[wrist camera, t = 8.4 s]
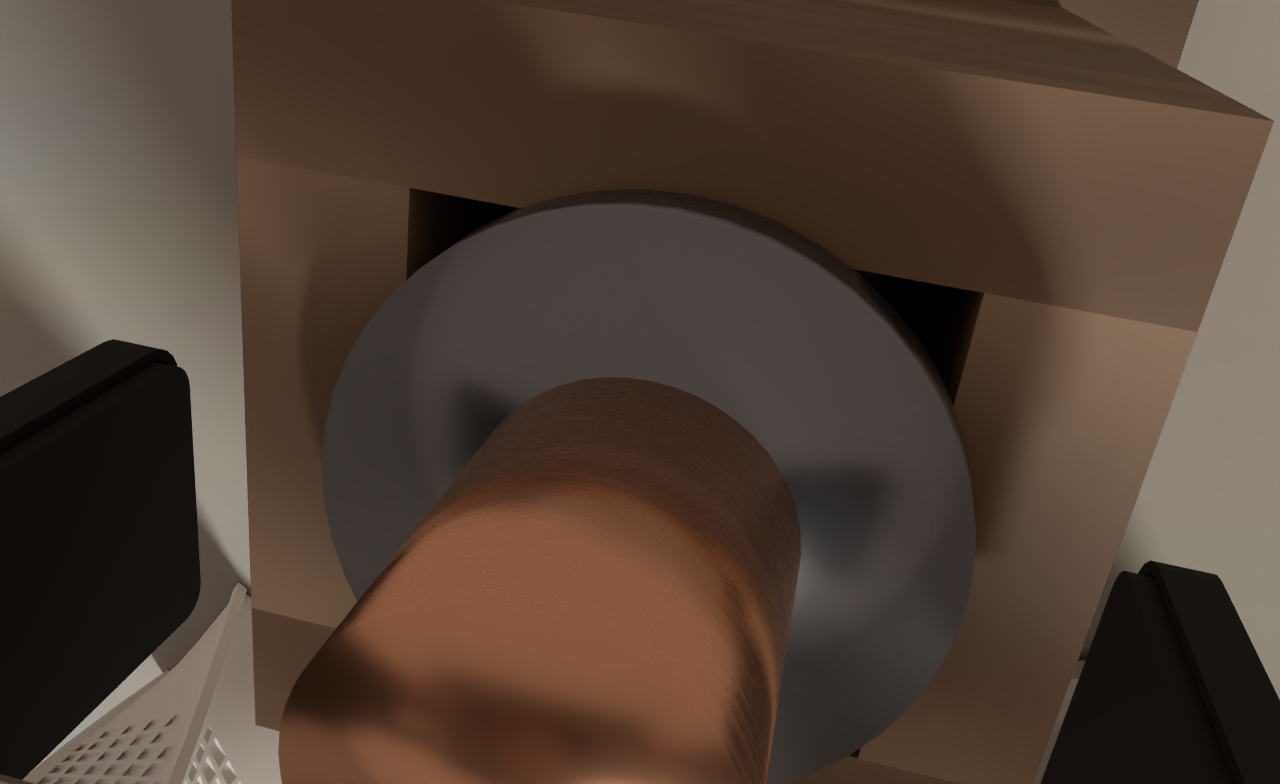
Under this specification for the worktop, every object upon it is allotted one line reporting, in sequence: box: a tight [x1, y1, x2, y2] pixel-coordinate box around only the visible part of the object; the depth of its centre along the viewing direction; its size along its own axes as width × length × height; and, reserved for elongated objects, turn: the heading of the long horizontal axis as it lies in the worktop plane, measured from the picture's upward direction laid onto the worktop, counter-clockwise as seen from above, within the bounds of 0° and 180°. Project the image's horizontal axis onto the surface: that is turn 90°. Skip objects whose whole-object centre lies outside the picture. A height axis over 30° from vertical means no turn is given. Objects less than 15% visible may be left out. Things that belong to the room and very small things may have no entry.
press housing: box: [232, 0, 1274, 784], centre depth 19 cm, size 16×15×16 cm
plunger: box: [278, 189, 976, 784], centre depth 16 cm, size 7×7×18 cm
